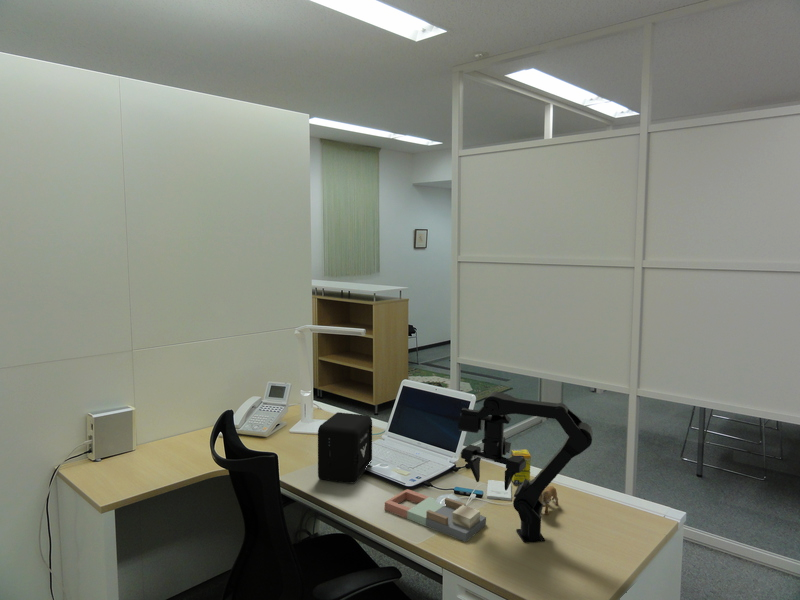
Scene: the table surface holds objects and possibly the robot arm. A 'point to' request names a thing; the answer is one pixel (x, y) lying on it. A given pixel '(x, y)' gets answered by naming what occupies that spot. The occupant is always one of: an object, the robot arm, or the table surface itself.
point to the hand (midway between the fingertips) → (491, 485)
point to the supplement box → (525, 473)
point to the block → (466, 516)
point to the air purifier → (344, 447)
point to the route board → (433, 514)
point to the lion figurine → (548, 497)
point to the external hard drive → (498, 490)
